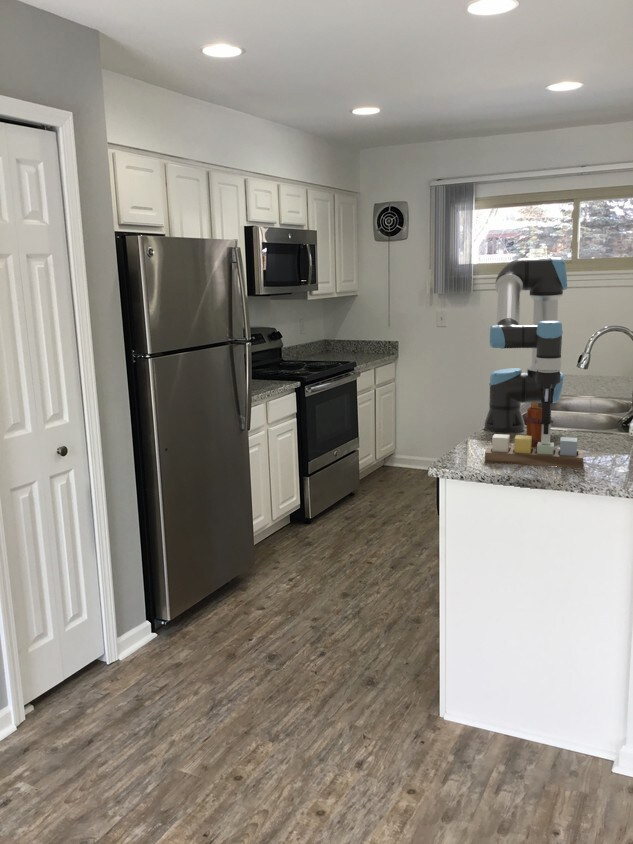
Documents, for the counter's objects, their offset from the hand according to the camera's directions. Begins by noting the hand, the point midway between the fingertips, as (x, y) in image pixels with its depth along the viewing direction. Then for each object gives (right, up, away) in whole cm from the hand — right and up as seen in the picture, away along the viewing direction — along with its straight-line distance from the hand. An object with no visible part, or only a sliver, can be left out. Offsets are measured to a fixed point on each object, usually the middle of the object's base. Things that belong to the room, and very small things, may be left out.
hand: (545, 443), depth 232 cm
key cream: (-13, -3, +6) cm, 14 cm away
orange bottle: (+3, -2, +21) cm, 21 cm away
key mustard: (-6, -3, +3) cm, 8 cm away
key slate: (+7, -4, -2) cm, 8 cm away
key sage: (0, -5, +1) cm, 5 cm away
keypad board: (-3, -6, +3) cm, 7 cm away
